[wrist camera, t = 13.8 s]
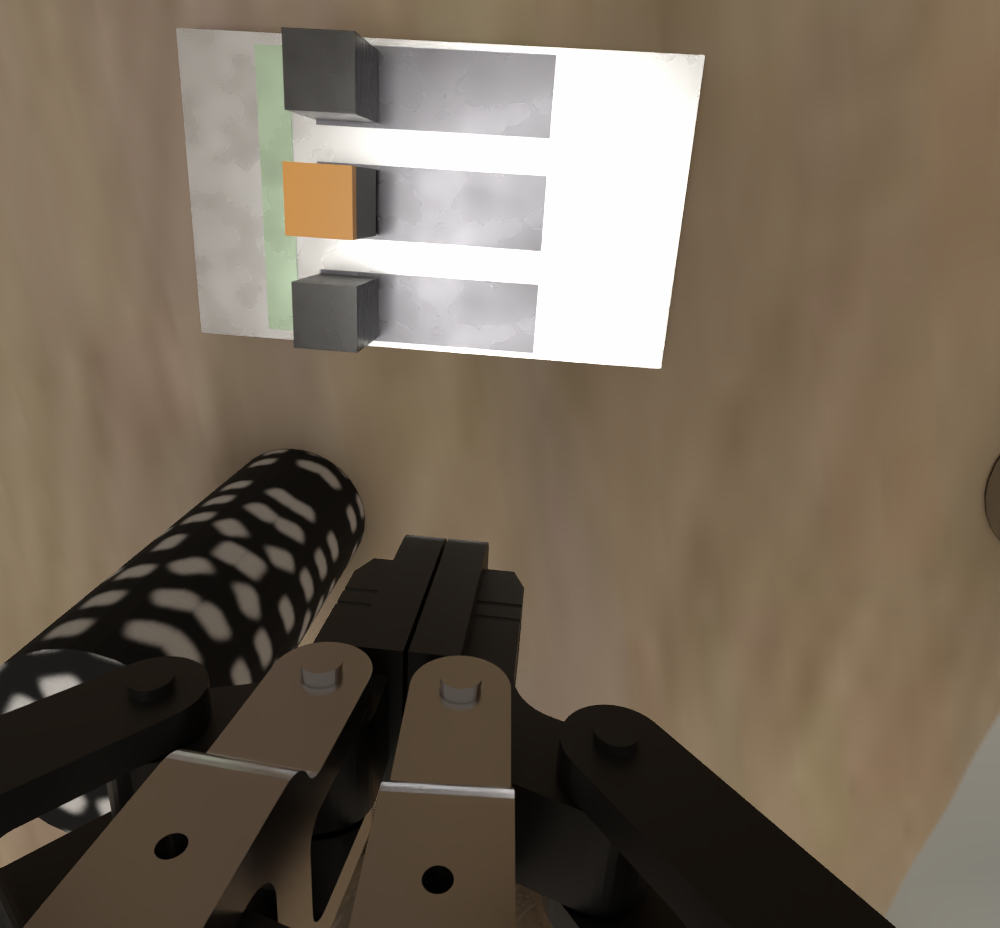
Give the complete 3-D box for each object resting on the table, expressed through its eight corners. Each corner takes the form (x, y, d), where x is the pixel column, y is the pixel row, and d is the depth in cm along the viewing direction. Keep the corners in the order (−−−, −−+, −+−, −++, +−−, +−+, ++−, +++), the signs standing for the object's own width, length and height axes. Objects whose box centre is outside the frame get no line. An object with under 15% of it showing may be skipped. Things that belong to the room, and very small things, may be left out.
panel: (697, 63, 33) (723, 35, 28) (656, 360, 38) (671, 388, 33) (197, 37, 35) (124, 5, 29) (218, 326, 40) (160, 347, 34)
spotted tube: (211, 460, 43) (-68, 663, 24) (344, 438, 41) (159, 634, 23) (254, 583, 45) (33, 851, 27) (379, 565, 44) (240, 835, 25)
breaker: (376, 169, 34) (352, 165, 30) (375, 236, 35) (352, 240, 31) (313, 165, 34) (282, 160, 30) (315, 231, 35) (285, 235, 31)
